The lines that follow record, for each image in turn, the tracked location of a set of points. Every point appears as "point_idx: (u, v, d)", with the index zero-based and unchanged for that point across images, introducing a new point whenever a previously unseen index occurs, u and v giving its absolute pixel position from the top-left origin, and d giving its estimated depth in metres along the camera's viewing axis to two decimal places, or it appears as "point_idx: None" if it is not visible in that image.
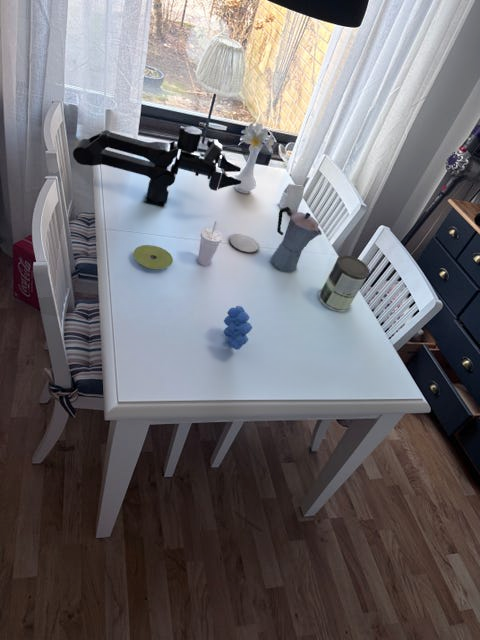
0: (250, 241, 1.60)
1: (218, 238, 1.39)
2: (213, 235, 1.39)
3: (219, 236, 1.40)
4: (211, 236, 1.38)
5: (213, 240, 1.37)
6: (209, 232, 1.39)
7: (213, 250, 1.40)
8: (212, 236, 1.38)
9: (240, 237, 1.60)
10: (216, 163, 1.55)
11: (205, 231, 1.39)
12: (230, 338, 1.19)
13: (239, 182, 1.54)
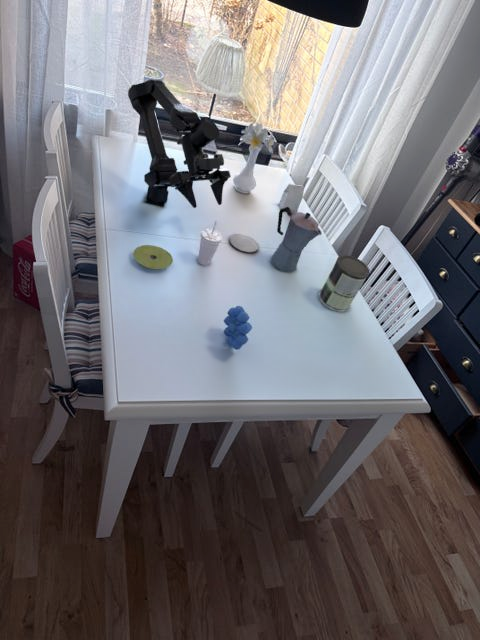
0: (250, 241, 1.60)
1: (218, 238, 1.39)
2: (213, 235, 1.39)
3: (219, 236, 1.40)
4: (211, 236, 1.38)
5: (213, 240, 1.37)
6: (209, 232, 1.39)
7: (213, 250, 1.40)
8: (212, 236, 1.38)
9: (240, 237, 1.60)
10: (204, 174, 1.40)
11: (205, 231, 1.39)
12: (230, 338, 1.19)
13: (193, 206, 1.39)
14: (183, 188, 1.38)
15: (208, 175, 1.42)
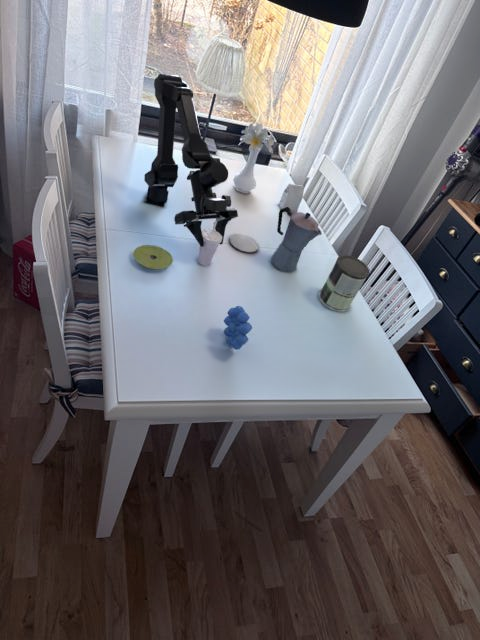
0: (250, 241, 1.60)
1: (218, 238, 1.39)
2: (213, 235, 1.39)
3: (219, 236, 1.40)
4: (211, 236, 1.38)
5: (213, 240, 1.37)
6: (209, 232, 1.39)
7: (213, 250, 1.40)
8: (212, 236, 1.38)
9: (240, 237, 1.60)
10: (214, 213, 1.38)
11: (205, 231, 1.39)
12: (230, 338, 1.19)
13: (201, 245, 1.38)
14: (192, 226, 1.37)
15: (215, 214, 1.40)
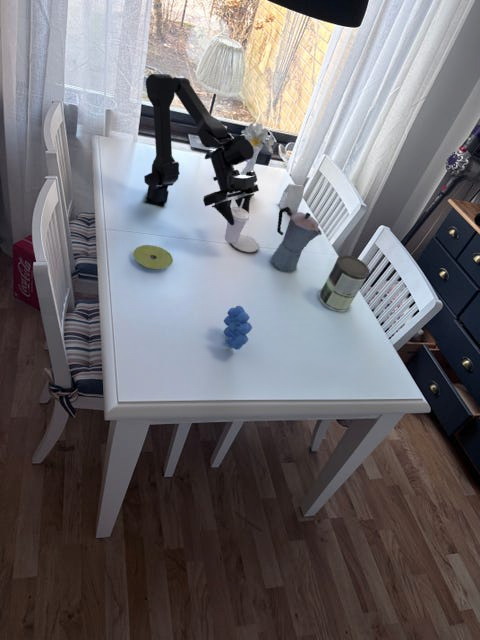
0: (250, 241, 1.60)
1: (246, 215, 1.41)
2: (241, 212, 1.40)
3: (246, 212, 1.42)
4: (240, 214, 1.39)
5: (243, 217, 1.39)
6: (236, 210, 1.40)
7: (242, 227, 1.42)
8: (241, 213, 1.40)
9: (240, 237, 1.60)
10: (239, 191, 1.40)
11: (232, 209, 1.40)
12: (230, 338, 1.19)
13: (231, 223, 1.39)
14: (220, 206, 1.38)
15: (238, 191, 1.41)
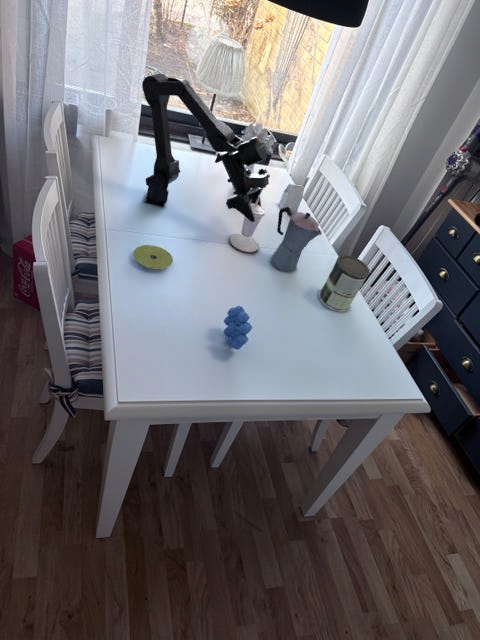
0: (250, 241, 1.60)
1: (262, 209, 1.51)
2: (257, 208, 1.50)
3: (260, 207, 1.52)
4: (257, 210, 1.49)
5: (261, 213, 1.49)
6: (252, 206, 1.50)
7: (259, 221, 1.52)
8: (258, 209, 1.50)
9: (240, 237, 1.60)
10: (252, 188, 1.49)
11: None
12: (230, 338, 1.19)
13: (251, 220, 1.49)
14: (240, 206, 1.46)
15: None
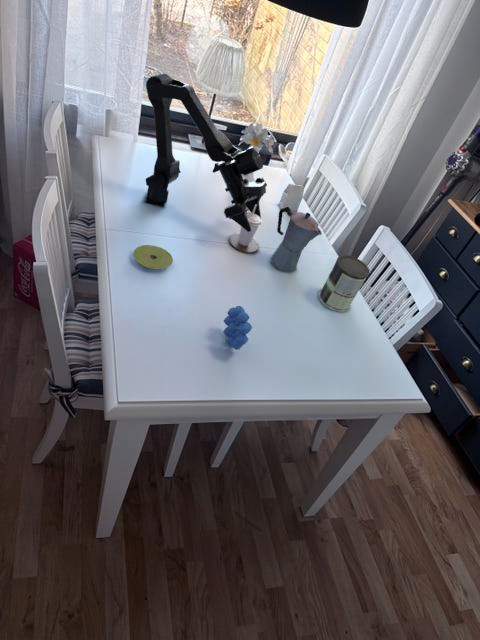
0: None
1: (258, 218, 1.53)
2: (254, 217, 1.52)
3: (257, 216, 1.54)
4: (254, 219, 1.52)
5: (258, 222, 1.51)
6: (249, 215, 1.52)
7: None
8: (254, 218, 1.52)
9: None
10: (248, 198, 1.49)
11: None
12: (230, 338, 1.19)
13: (248, 230, 1.50)
14: (236, 216, 1.47)
15: (247, 196, 1.52)
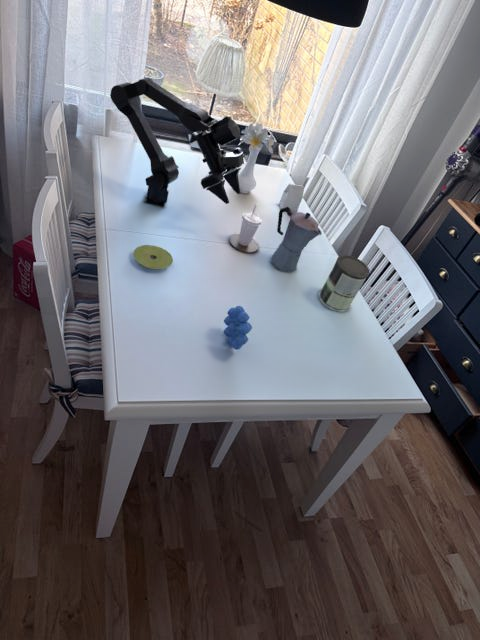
0: None
1: (258, 218, 1.53)
2: (254, 217, 1.52)
3: (257, 216, 1.54)
4: (254, 219, 1.52)
5: (258, 222, 1.51)
6: (249, 215, 1.52)
7: None
8: (254, 218, 1.52)
9: None
10: (226, 170, 1.47)
11: (245, 216, 1.52)
12: (230, 338, 1.19)
13: (226, 202, 1.47)
14: (214, 187, 1.45)
15: (225, 168, 1.50)
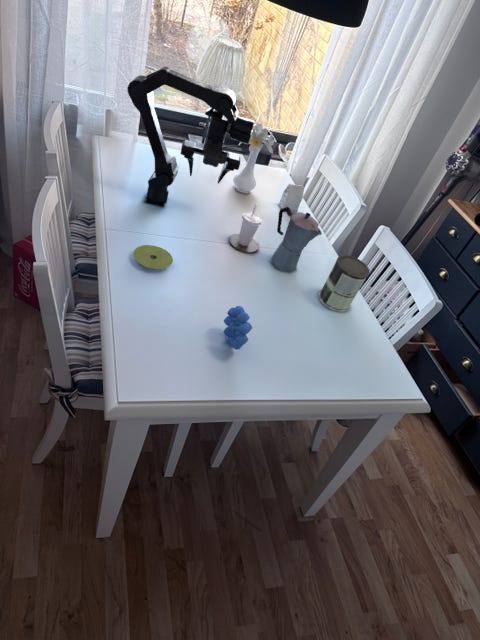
0: None
1: (258, 218, 1.53)
2: (254, 217, 1.52)
3: (257, 216, 1.54)
4: (254, 219, 1.52)
5: (258, 222, 1.51)
6: (249, 215, 1.52)
7: None
8: (254, 218, 1.52)
9: None
10: None
11: (245, 216, 1.52)
12: (230, 338, 1.19)
13: None
14: None
15: None
